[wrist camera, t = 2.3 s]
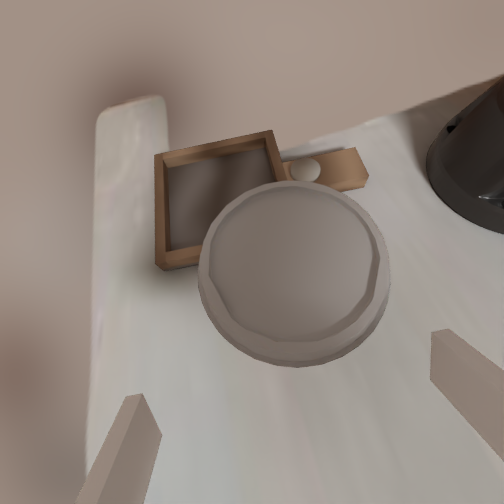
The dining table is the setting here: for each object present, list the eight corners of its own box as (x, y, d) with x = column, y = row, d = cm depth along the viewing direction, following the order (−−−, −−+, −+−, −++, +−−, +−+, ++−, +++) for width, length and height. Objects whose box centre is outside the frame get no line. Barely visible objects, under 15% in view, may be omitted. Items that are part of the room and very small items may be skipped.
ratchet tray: (337, 129, 31) (341, 111, 29) (382, 226, 25) (391, 213, 23) (161, 167, 31) (152, 152, 29) (164, 271, 25) (153, 262, 23)
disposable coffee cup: (234, 262, 25) (198, 180, 14) (333, 257, 24) (375, 166, 13) (232, 368, 21) (178, 368, 10) (350, 367, 20) (432, 366, 9)
